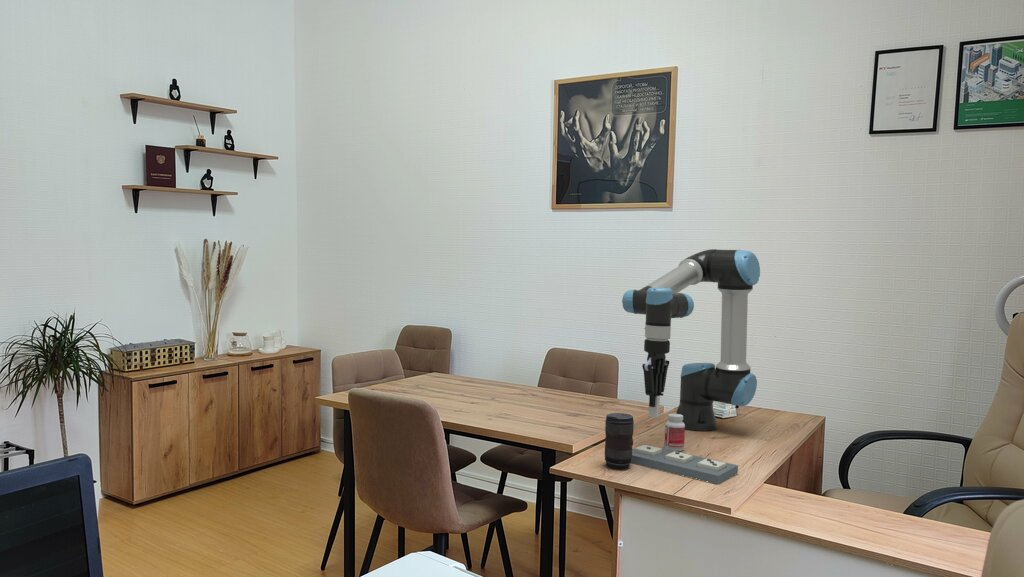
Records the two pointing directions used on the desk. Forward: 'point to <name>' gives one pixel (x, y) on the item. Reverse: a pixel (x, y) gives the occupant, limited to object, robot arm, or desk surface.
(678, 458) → the tile
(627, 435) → the camera lens
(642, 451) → the tile
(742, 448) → the desk surface
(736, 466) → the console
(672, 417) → the pill bottle
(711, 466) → the tile
